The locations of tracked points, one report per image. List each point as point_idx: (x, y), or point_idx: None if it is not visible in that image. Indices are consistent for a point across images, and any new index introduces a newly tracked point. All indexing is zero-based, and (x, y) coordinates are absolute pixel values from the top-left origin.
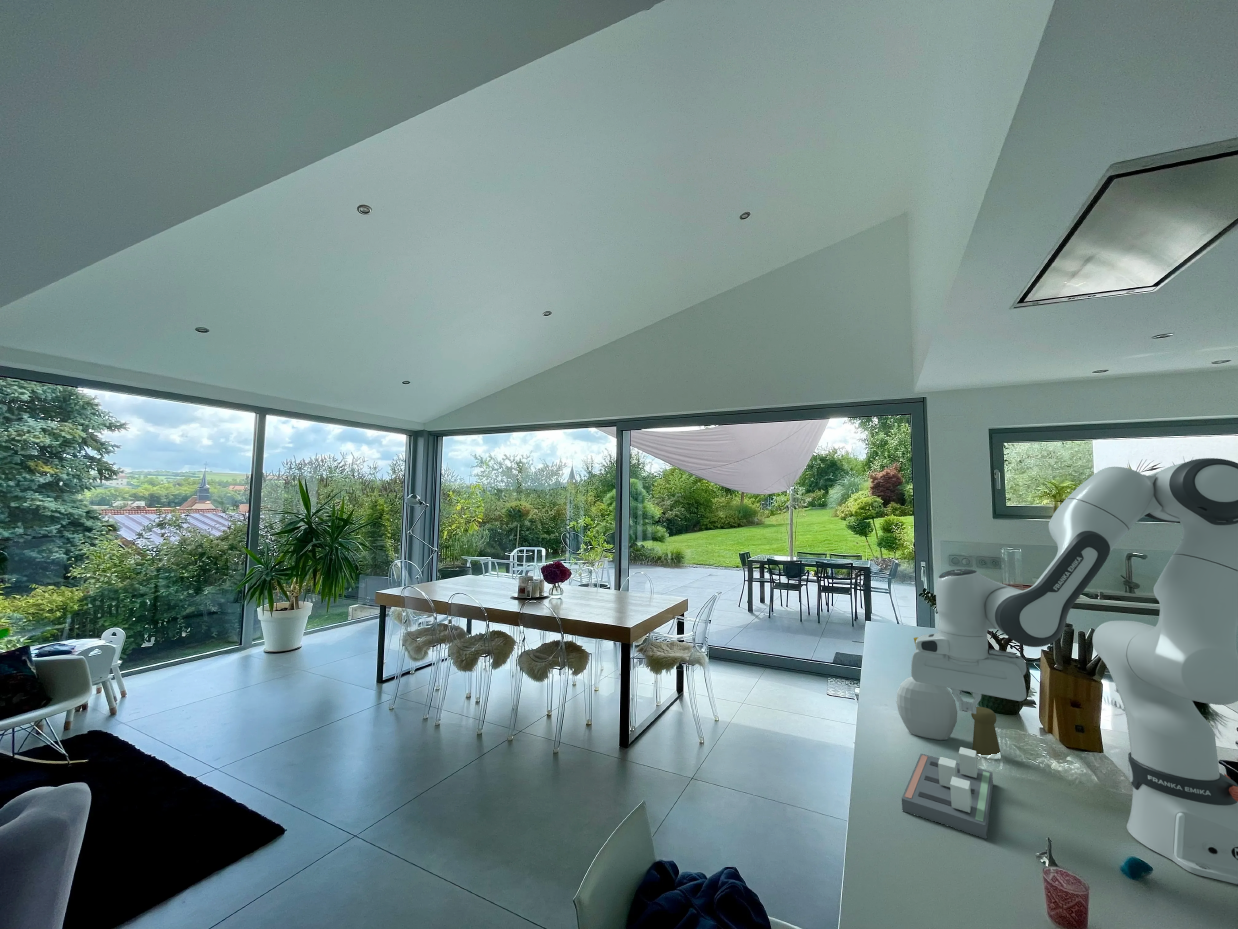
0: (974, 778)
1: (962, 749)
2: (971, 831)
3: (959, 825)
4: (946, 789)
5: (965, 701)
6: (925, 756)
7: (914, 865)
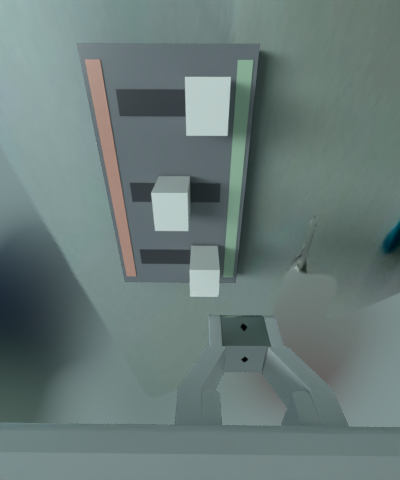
0: None
1: (192, 95)
2: None
3: None
4: None
5: (236, 348)
6: (95, 63)
7: (171, 344)
